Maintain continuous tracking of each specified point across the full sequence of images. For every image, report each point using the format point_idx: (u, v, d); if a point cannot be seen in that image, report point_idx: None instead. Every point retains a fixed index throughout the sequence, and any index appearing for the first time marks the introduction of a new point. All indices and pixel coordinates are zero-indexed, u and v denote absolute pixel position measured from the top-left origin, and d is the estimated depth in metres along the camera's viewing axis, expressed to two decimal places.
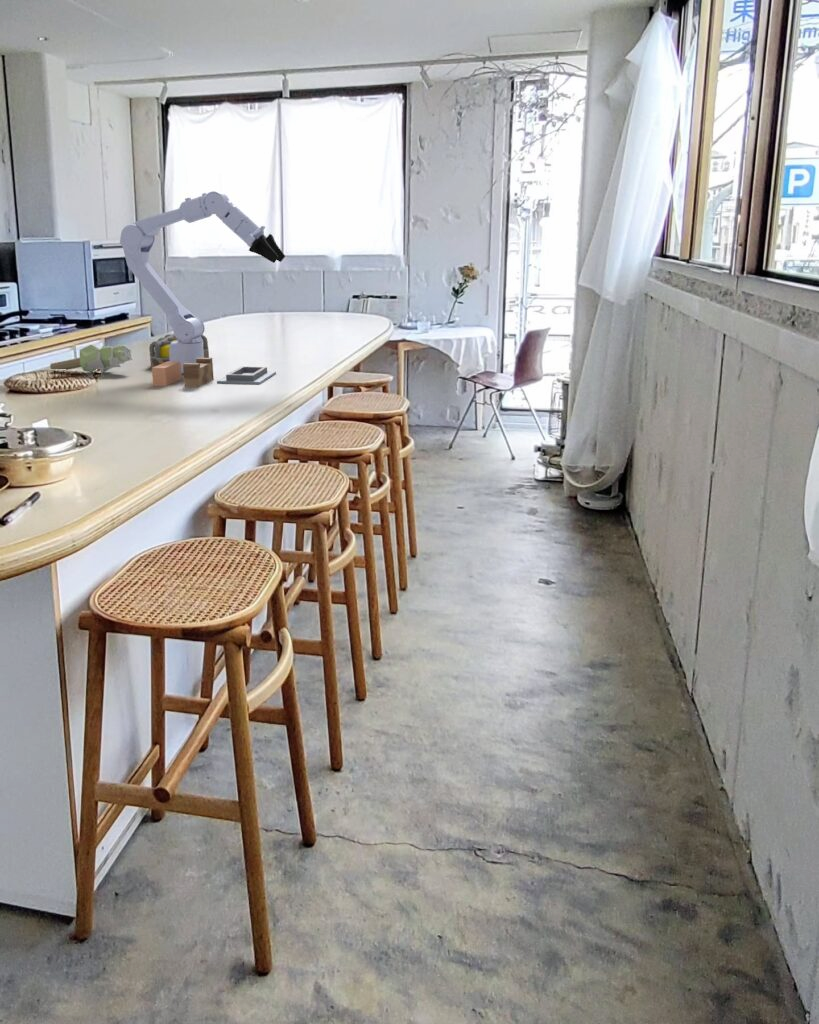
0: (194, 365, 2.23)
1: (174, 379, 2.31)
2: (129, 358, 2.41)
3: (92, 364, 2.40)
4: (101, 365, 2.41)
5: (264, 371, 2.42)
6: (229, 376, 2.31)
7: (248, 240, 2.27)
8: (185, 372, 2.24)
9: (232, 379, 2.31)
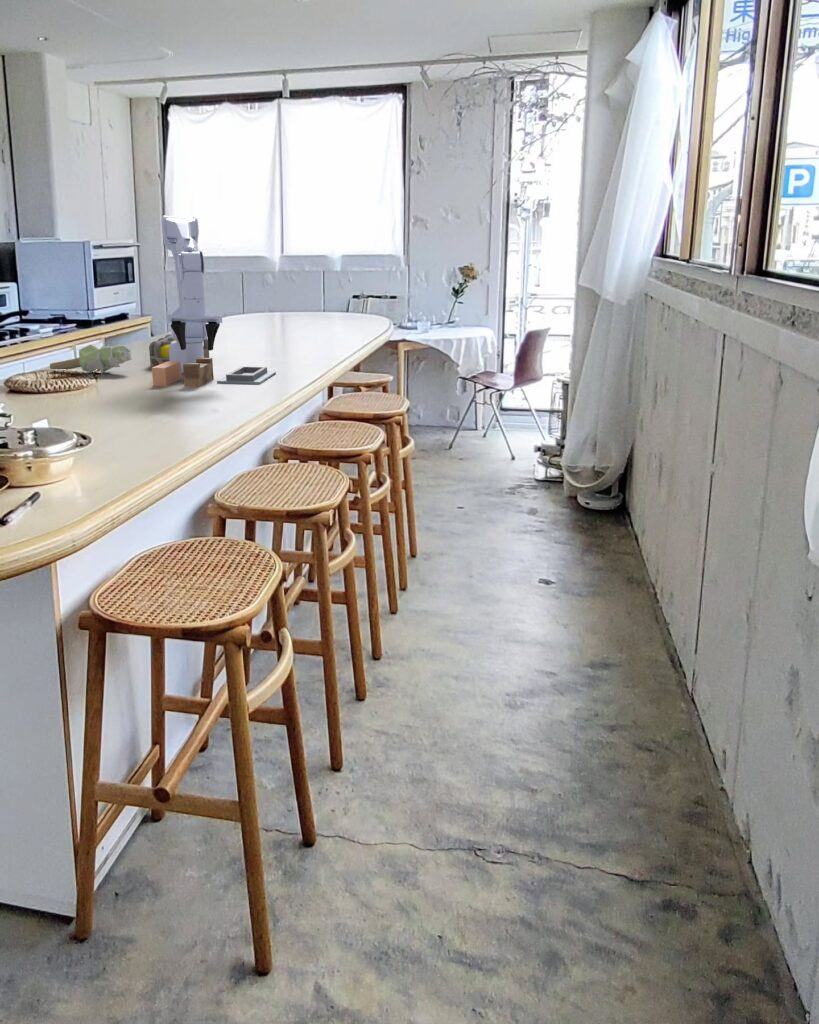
0: (194, 365, 2.23)
1: (174, 379, 2.31)
2: (129, 358, 2.41)
3: (91, 364, 2.40)
4: (101, 365, 2.41)
5: (264, 371, 2.42)
6: (229, 376, 2.31)
7: None
8: (185, 372, 2.24)
9: (232, 379, 2.31)
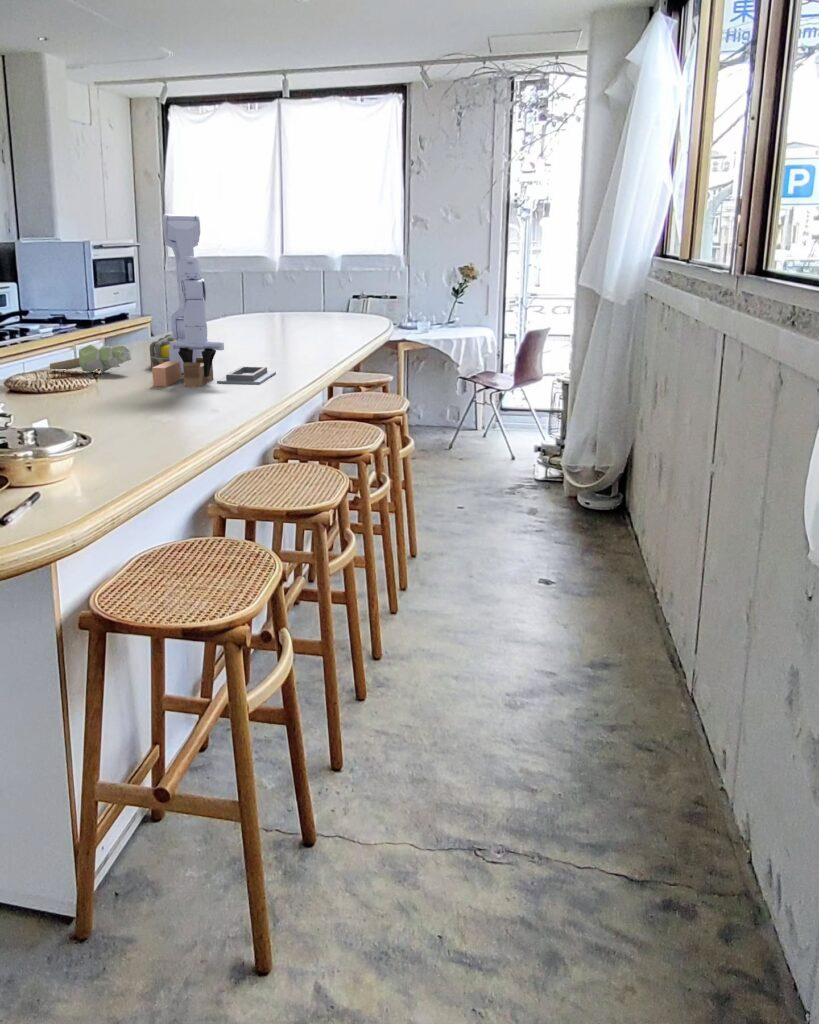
0: (194, 364, 2.23)
1: (174, 379, 2.31)
2: (128, 358, 2.41)
3: (91, 364, 2.40)
4: (100, 365, 2.41)
5: (264, 371, 2.42)
6: (229, 376, 2.31)
7: None
8: (185, 371, 2.24)
9: (232, 379, 2.31)
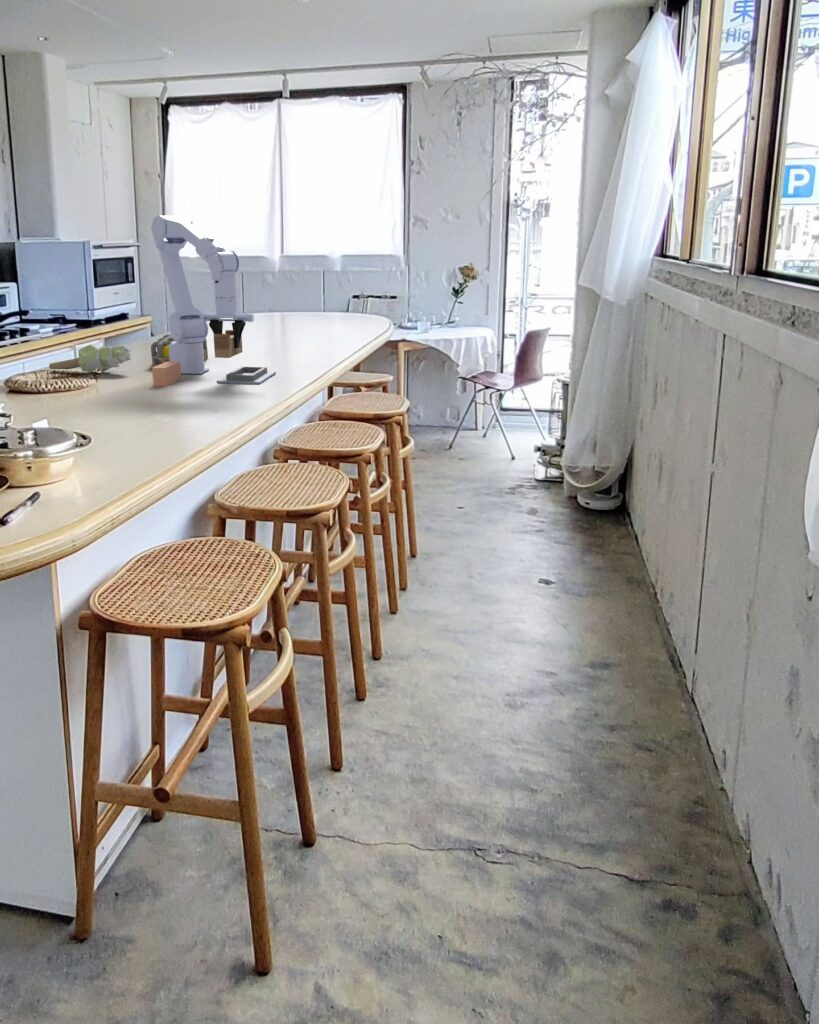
0: (224, 336, 2.26)
1: (174, 379, 2.31)
2: (128, 358, 2.41)
3: (91, 364, 2.40)
4: (100, 365, 2.41)
5: (264, 371, 2.42)
6: (229, 376, 2.31)
7: None
8: (215, 342, 2.26)
9: (232, 379, 2.31)
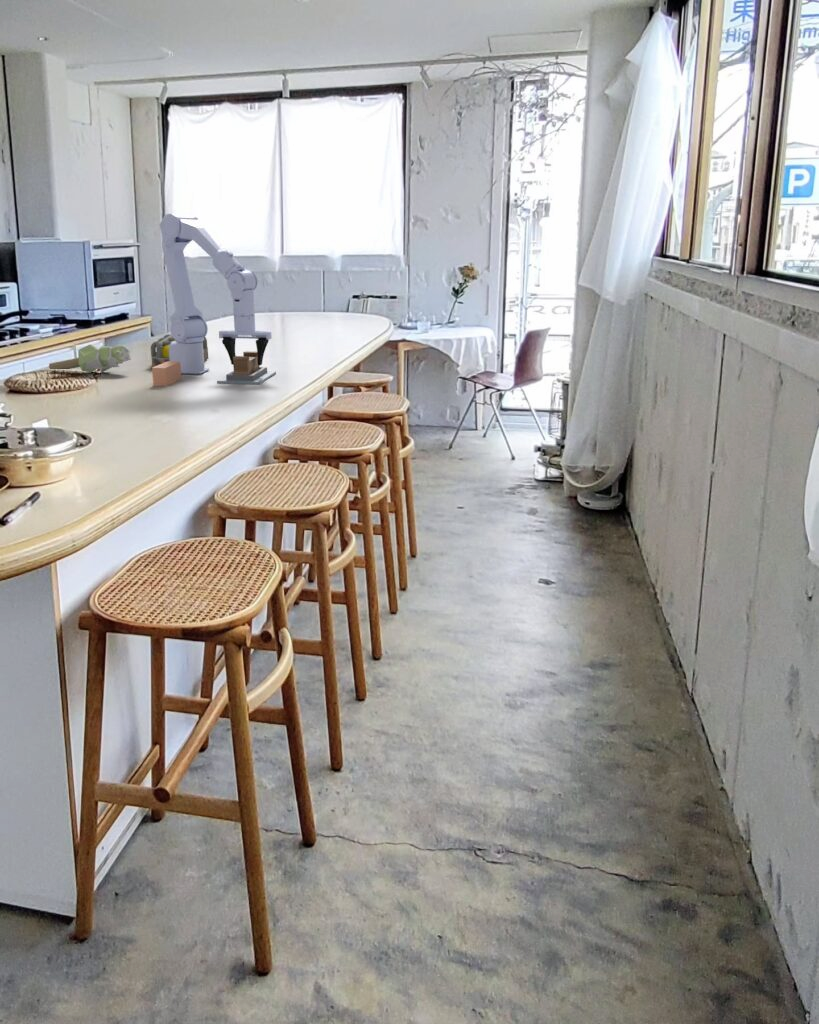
0: (244, 358, 2.30)
1: (174, 379, 2.31)
2: (128, 358, 2.41)
3: (90, 364, 2.40)
4: (100, 365, 2.41)
5: (264, 371, 2.42)
6: (229, 376, 2.31)
7: None
8: (235, 365, 2.31)
9: (232, 379, 2.31)
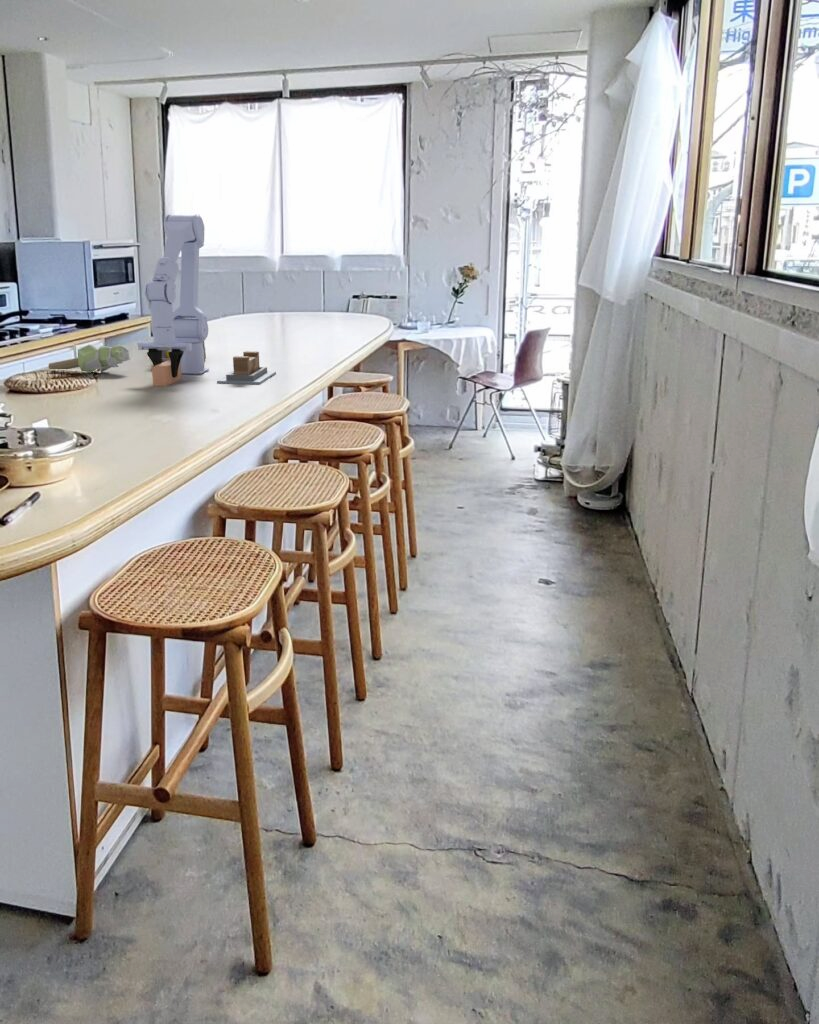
0: (244, 358, 2.30)
1: (174, 378, 2.31)
2: (127, 358, 2.41)
3: (90, 364, 2.40)
4: (99, 365, 2.41)
5: (264, 371, 2.42)
6: (229, 376, 2.31)
7: None
8: (235, 365, 2.31)
9: (232, 379, 2.31)
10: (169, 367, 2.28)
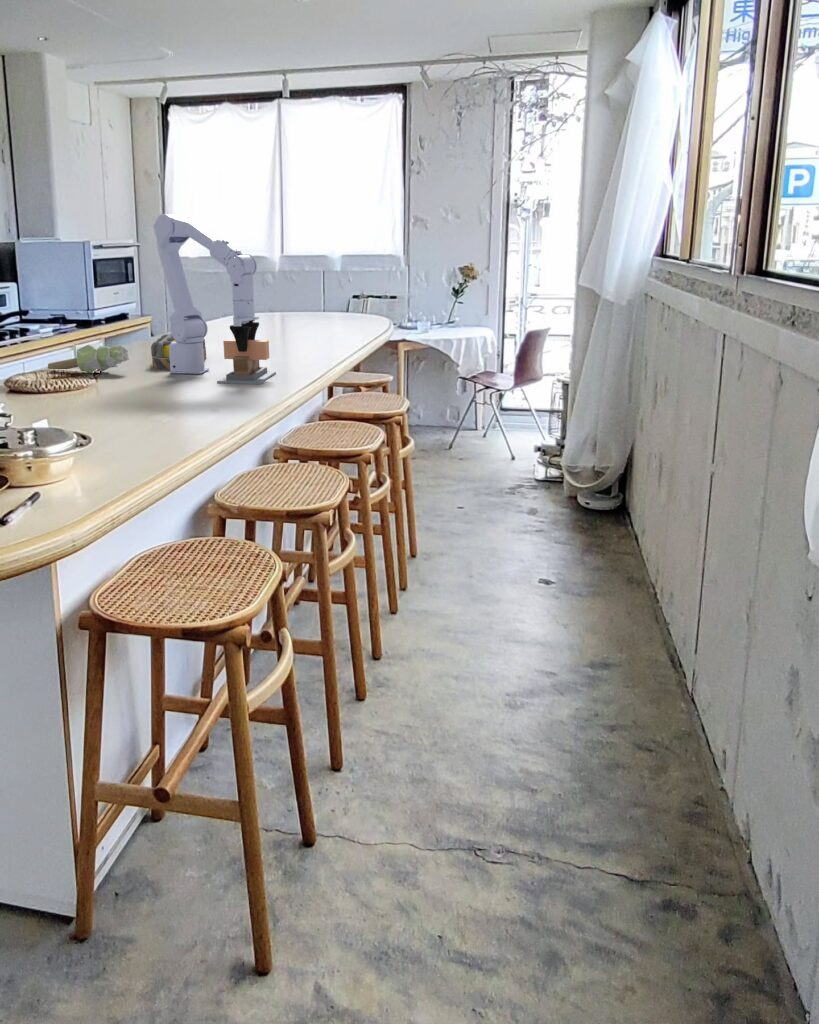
0: (244, 358, 2.30)
1: None
2: (126, 358, 2.41)
3: (89, 364, 2.40)
4: (98, 365, 2.41)
5: (264, 371, 2.42)
6: (229, 376, 2.31)
7: (235, 322, 2.26)
8: (235, 365, 2.31)
9: (232, 379, 2.31)
10: None
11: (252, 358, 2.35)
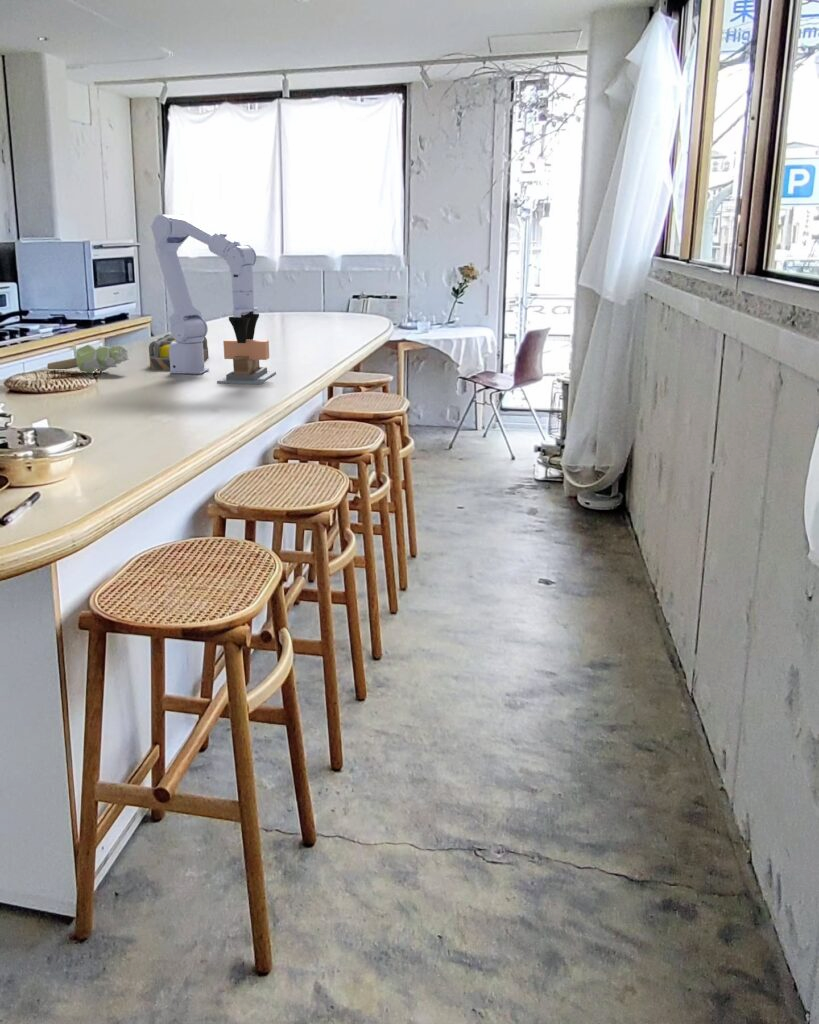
0: (244, 358, 2.30)
1: None
2: (125, 358, 2.41)
3: (88, 364, 2.40)
4: (97, 365, 2.41)
5: (264, 371, 2.42)
6: (229, 376, 2.31)
7: (234, 313, 2.25)
8: (235, 365, 2.31)
9: (232, 379, 2.31)
10: None
11: (252, 358, 2.35)
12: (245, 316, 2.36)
